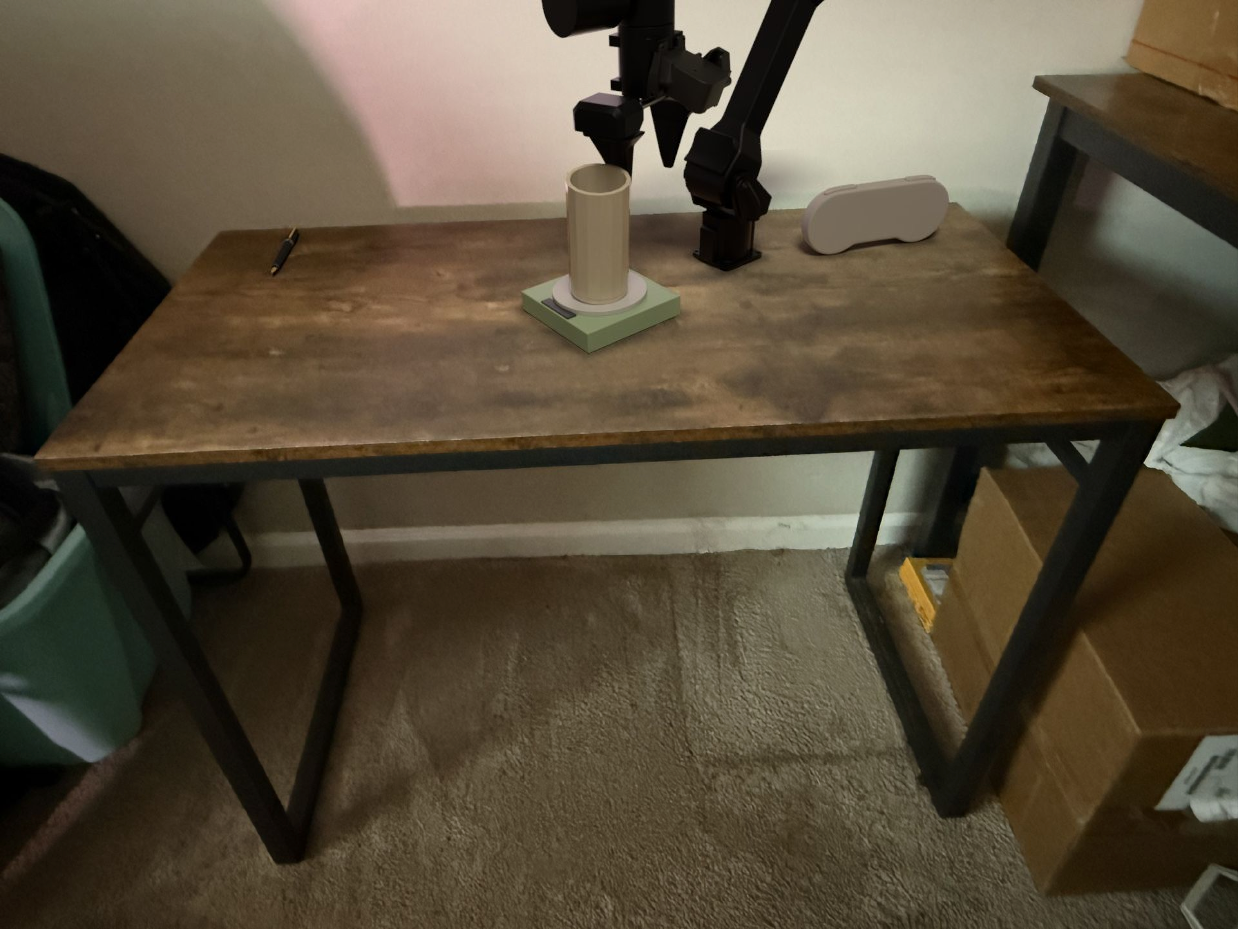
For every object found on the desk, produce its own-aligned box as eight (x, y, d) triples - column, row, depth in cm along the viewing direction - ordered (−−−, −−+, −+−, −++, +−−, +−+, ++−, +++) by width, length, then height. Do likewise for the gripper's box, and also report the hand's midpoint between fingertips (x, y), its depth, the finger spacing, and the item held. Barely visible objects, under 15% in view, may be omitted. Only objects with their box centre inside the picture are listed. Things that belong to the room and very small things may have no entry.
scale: (611, 276, 100) (610, 253, 98) (680, 314, 92) (680, 290, 90) (523, 309, 94) (520, 286, 92) (588, 353, 86) (587, 329, 84)
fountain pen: (277, 278, 103) (274, 267, 102) (268, 279, 103) (264, 268, 102) (302, 232, 114) (299, 222, 113) (293, 233, 114) (290, 223, 113)
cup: (604, 264, 93) (604, 157, 84) (639, 291, 90) (643, 182, 80) (558, 284, 91) (553, 175, 81) (592, 312, 87) (591, 201, 78)
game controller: (932, 231, 107) (946, 168, 102) (942, 238, 105) (956, 174, 100) (796, 252, 104) (803, 187, 98) (804, 259, 102) (811, 194, 97)
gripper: (667, 49, 70) (666, 223, 80) (762, 10, 82) (751, 166, 92) (564, 37, 75) (575, 202, 85) (667, 2, 87) (666, 151, 96)
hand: (647, 179), depth 89 cm, fingers open, 9 cm apart
